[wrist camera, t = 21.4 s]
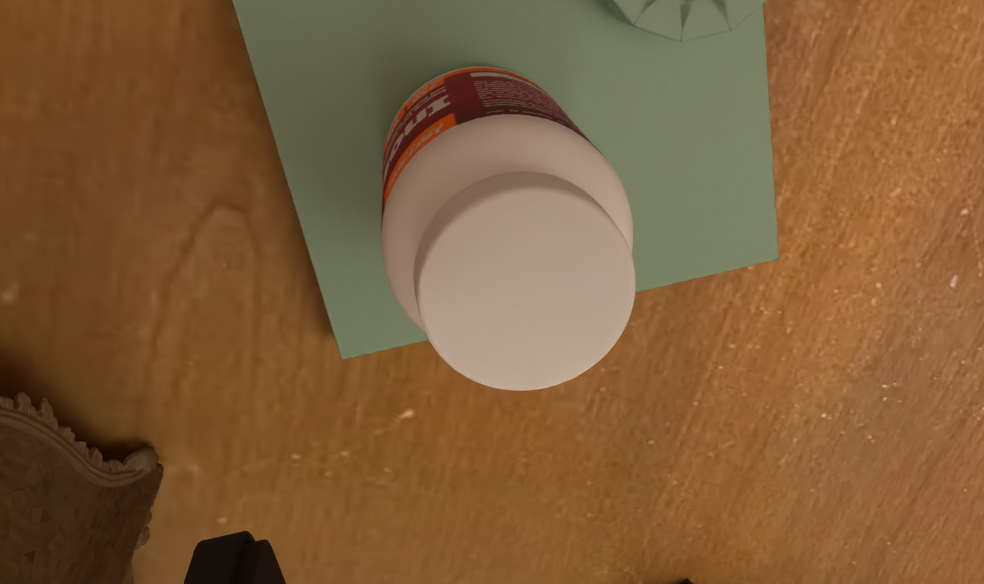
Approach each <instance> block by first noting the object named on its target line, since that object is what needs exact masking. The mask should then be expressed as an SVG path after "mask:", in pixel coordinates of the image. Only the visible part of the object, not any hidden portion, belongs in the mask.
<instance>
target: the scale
mask: <svg viewBox="0 0 984 584" xmlns="http://www.w3.org/2000/svg"><path fill="white" fill-rule="evenodd" d="M766 1H767V0H232V2H233V6H234V9H235V12H236V16H237V19H238V22H239V25H240V29H241V32H242V35H243V38H244V42H245V45H246V48H247V52H248V55H249V58H250V61H251V65H252V68H253V71H254V75H255V78H256V81H257V84H258V88H259V91H260V94H261V98H262V101H263V104H264V107H265V111H266V114H267V117H268V120H269V124H270V127H271V130H272V134H273V137H274V140H275V143H276V147H277V150H278V153H279V157H280V160H281V163H282V166H283V170H284V173H285V176H286V179H287V183H288V186H289V189H290V193H291V196H292V199H293V202H294V206H295V209H296V212H297V216H298V219H299V222H300V225H301V229H302V232H303V235H304V238H305V242H306V245H307V248H308V252H309V255H310V258H311V261H312V265H313V268H314V271H315V275H316V278H317V281H318V284H319V288H320V291H321V294H322V297H323V301H324V304H325V307H326V311H327V314H328V317H329V320H330V324H331V327H332V330H333V334H334V337H335V340H336V343H337V347H338V350H339V353H340V357H341V359H347V358H352V357H356V356H360V355H365V354H369V353H373V352H378V351H382V350H386V349H391V348H395V347H400V346H404V345H408V344H413V343H417V342H421V341H426V340H429V339H428V337H427V335H426V334H425V332H424V331H423V330H422V329H420V328H419V327H418V326H417V325H416V324H415V323H414V322H413V321H412V320H411V319H410V318H409V316H408V315H407V314H406V313H405V311H404V310H403V309H402V307H401V305H400V304H399V302H398V301H397V299H396V297H395V295H394V293H393V291H392V289H391V287H390V284H389V281H388V278H387V275H386V271H385V267H384V261H383V255H382V244H381V217H382V166H383V153H384V147H385V143H386V139H387V135H388V132H389V130H390V127H391V125H392V122H393V120H394V118H395V116H396V115H397V113H398V111H399V110H400V108H401V107H402V105H403V104H404V103H405V101H406V100H407V99H408V98H409V97H410V96H411V95H412V94H413V93H414V92H415V91H416V90H417V89H419V88H420V87H421V86H422V85H424V84H425V83H427V82H428V81H430V80H432V79H434V78H435V77H437V76H439V75H441V74H444V73H447V72H449V71H453V70H456V69H460V68H465V67H474V66H486V67H496V68H501V69H505V70H508V71H512V72H514V73H517V74H519V75H521V76H523V77H525V78H527V79H529V80H531V81H532V82H534V83H535V84H536V85H538V86H539V87H540V88H542V89H543V90H544V91H546V92H547V93H548V94H549V95H550V96H551V97H552V98H553V99H554V100H555V102H556V103H557V104H558V105H559V106H560V107H561V109H562V110H563V111H564V112H565V113H566V114H567V116H568V117H569V118H570V119H571V120H572V121H573V122H574V124H575V125H576V126H577V127H578V128H579V129H580V130H581V132H582V133H583V134H584V135H585V136H586V137H587V138H588V139H589V140H590V142H591V143H592V144H593V145H594V146H595V147H596V148H597V149H598V150H599V151H600V152H601V153H602V154H603V156H604V157H605V158H606V160H607V161H608V162H609V164H610V165H611V166H612V168H613V169H614V171H615V172H616V174H617V176H618V177H619V179H620V181H621V183H622V185H623V187H624V190H625V192H626V195H627V198H628V201H629V204H630V209H631V214H632V221H633V250H632V258H633V262H634V268H635V279H636V288H635V292H639V291H644V290H648V289H652V288H657V287H661V286H665V285H670V284H674V283H679V282H683V281H687V280H692V279H696V278H700V277H705V276H709V275H713V274H718V273H722V272H726V271H731V270H735V269H740V268H744V267H748V266H753V265H757V264H761V263H766V262H770V261H774V260H778V259H779V255H778V239H777V223H776V206H775V190H774V173H773V157H772V141H771V124H770V108H769V91H768V75H767V59H766V42H765V26H764V10H763V3H764V2H766Z"/></svg>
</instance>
